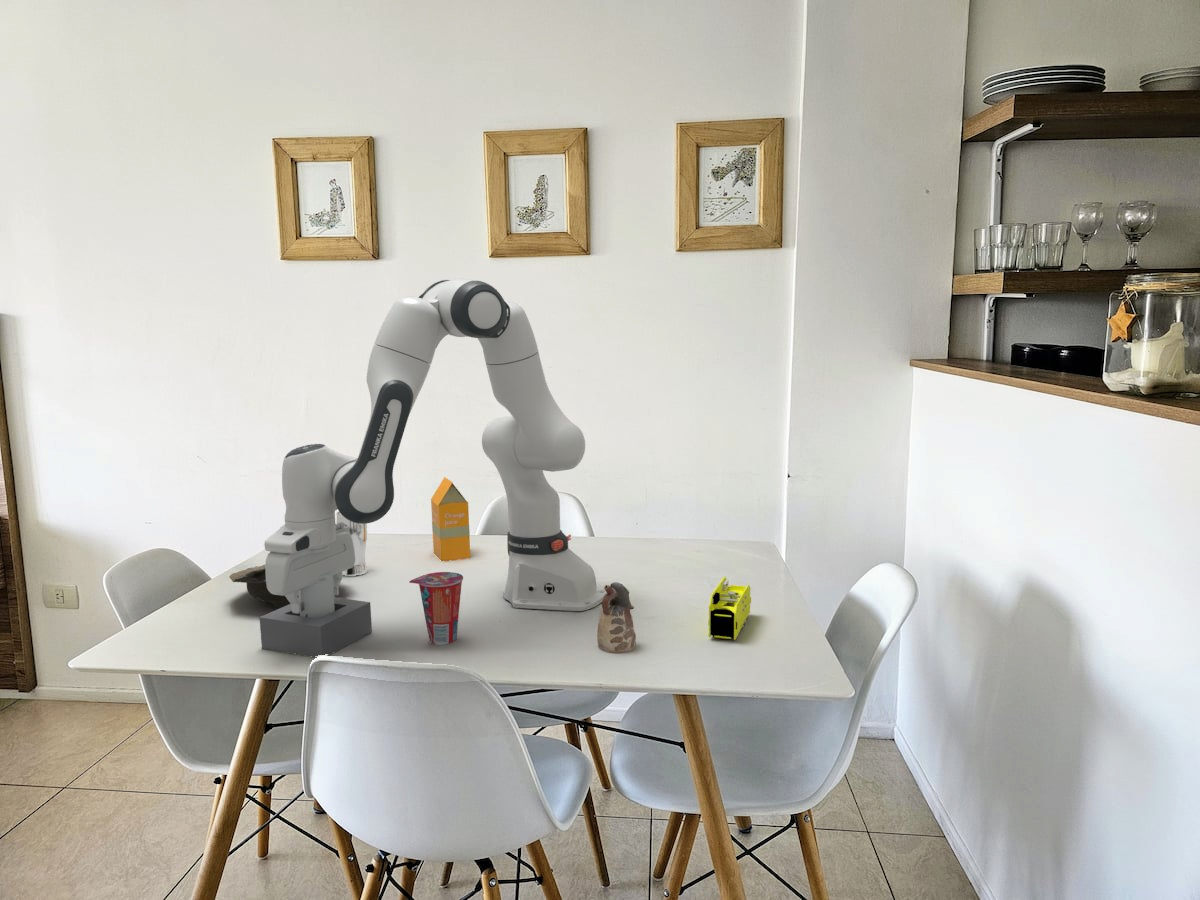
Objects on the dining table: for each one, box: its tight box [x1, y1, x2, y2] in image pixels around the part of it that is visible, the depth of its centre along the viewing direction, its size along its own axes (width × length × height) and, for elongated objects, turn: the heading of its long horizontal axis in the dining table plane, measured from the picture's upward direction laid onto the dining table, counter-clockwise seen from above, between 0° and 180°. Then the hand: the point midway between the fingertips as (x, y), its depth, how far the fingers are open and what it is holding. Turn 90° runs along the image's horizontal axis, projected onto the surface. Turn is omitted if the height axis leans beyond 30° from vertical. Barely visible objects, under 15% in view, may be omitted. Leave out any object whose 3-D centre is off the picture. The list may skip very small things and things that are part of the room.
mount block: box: [259, 596, 373, 658], centre depth 157 cm, size 14×14×6 cm
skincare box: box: [299, 571, 335, 619], centre depth 156 cm, size 6×4×12 cm
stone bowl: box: [228, 564, 299, 611], centre depth 182 cm, size 25×25×9 cm
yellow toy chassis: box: [708, 575, 752, 641], centre depth 160 cm, size 16×6×8 cm, turn 160°
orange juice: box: [430, 476, 471, 562], centre depth 212 cm, size 8×9×20 cm
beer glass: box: [335, 511, 368, 577], centre depth 199 cm, size 7×7×15 cm
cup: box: [409, 571, 464, 646], centre depth 155 cm, size 9×8×12 cm
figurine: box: [596, 581, 637, 654], centre depth 151 cm, size 7×7×12 cm
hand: (316, 603), depth 156 cm, fingers open, 8 cm apart
